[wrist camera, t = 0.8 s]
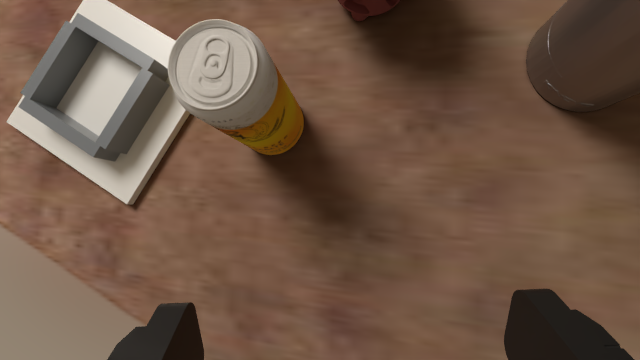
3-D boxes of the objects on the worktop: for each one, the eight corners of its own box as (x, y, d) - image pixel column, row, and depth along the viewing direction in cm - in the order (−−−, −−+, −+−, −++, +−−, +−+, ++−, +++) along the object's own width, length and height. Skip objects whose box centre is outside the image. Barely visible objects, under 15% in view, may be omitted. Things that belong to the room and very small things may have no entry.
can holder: (96, -5, 39) (66, -29, 35) (218, 68, 37) (201, 50, 33) (15, 124, 39) (-24, 114, 35) (133, 204, 36) (105, 203, 32)
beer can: (238, 151, 36) (151, 109, 21) (249, 90, 36) (171, 7, 21) (299, 160, 35) (254, 123, 20) (309, 98, 35) (272, 17, 20)
